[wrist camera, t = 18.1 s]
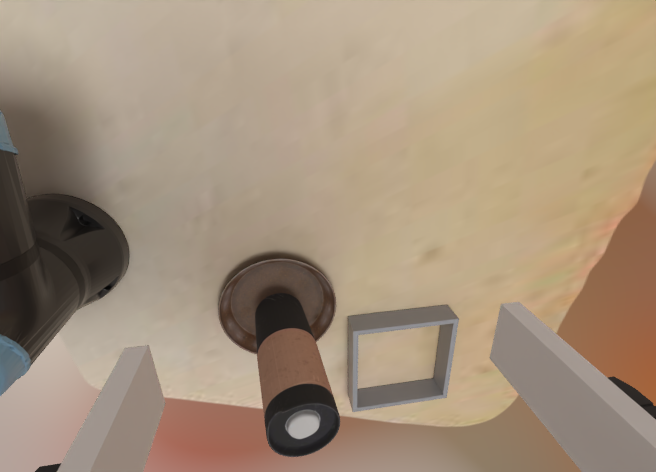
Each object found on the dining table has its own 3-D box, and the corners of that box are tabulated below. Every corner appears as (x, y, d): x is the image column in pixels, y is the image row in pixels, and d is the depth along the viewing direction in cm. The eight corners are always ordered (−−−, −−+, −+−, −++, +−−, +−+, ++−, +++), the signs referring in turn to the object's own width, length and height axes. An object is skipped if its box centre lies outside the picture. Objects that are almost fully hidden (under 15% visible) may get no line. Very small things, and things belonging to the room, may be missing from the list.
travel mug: (307, 325, 54) (345, 442, 37) (259, 339, 53) (274, 467, 35) (299, 285, 51) (336, 392, 33) (247, 298, 50) (257, 418, 32)
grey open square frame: (347, 393, 65) (352, 411, 61) (348, 316, 58) (353, 331, 54) (436, 380, 67) (446, 397, 64) (447, 304, 60) (458, 318, 57)
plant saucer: (351, 311, 58) (355, 323, 56) (261, 361, 59) (261, 374, 57) (298, 229, 51) (299, 237, 48) (196, 287, 52) (192, 298, 49)
